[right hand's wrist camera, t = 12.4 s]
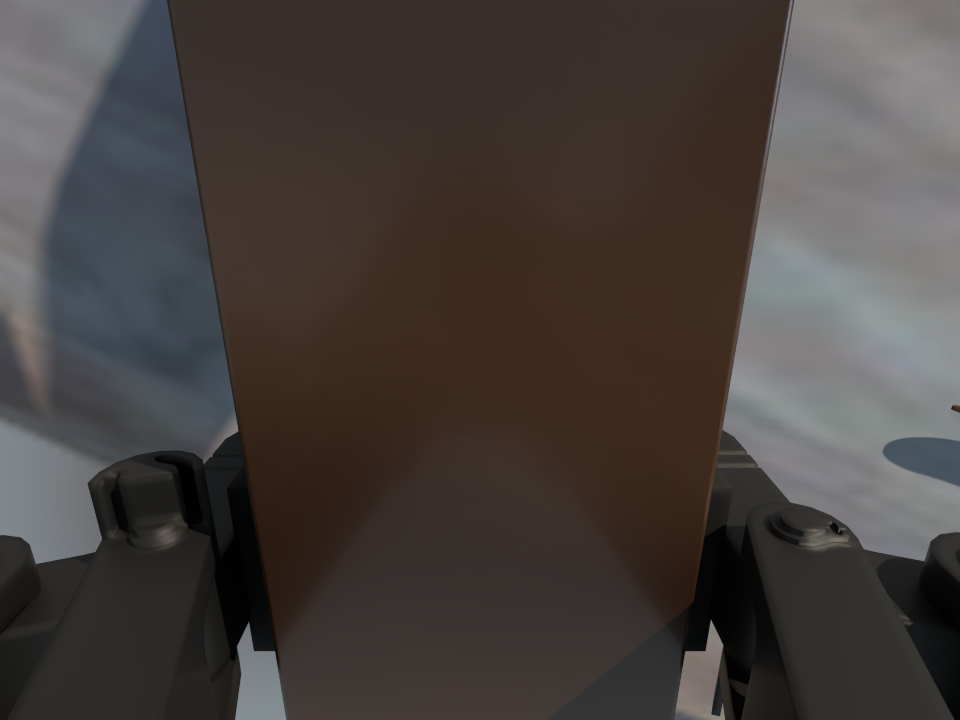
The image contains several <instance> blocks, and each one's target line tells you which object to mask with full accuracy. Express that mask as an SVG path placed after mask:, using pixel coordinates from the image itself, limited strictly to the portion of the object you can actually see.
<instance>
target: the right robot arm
mask: <svg viewBox="0 0 960 720" xmlns="http://www.w3.org/2000/svg"><path fill="white" fill-rule="evenodd" d="M88 487H89V490H90V494H91V498H92V502H93V506H94V510H95V513H96V517H97V521H98V525H99V528H100V532H101V536H102V541H101V543H100V545H99V547H98V548H97V550H96V552H94V553H90V554H86V555H81V556H76V557H71V558H66V559H61V560H55V561H50V562H45V563H40V564H35V560H34V557H33V554H32V551H31V548H30V545H29V544H28V543H27V542H26V541H24V540H23V539H22V538H20V537H13V536H5V535H1V536H0V720H235V715H236V708H237V701H238V693H239V686H240V679H241V669H240V662H239V656H238V651H237V645H238V643H239V641H240V639H241V637H242V635H243V633H244V631H245V628H246V626H247V624H248V622H249V624H250V630H251V636H252V642H253V648H254V651H275V647H274V641H273V635H272V629H271V623H270V617H269V611H268V605H267V599H266V593H265V587H264V581H263V575H262V569H261V563H260V557H259V551H258V545H257V539H256V533H255V527H254V521H253V515H252V509H251V502H250V496H249V490H248V484H247V478H246V472H245V466H244V460H243V454H242V448H241V442H240V436H239V431H238V432H237V433H235V434H233V435H232V436H230V437H228V438H226V439H225V440H224V442H223V443H222V444H221V445H220V446H219V447H218V449H217V450H216V451H215V452H214V453H213V457H210V458H209V459H208V460H207V462H206V463H205V464H203V460H202V459H201V458H199V457H198V456H196V455H195V454H193V453H188V452H183V451H157V452H152V453H147V454H141V455H137V456H134V457H131V458H128V459H125V460H122V461H120V462H117V463H115V464H113V465H111V466H109V467H108V468H106V469H104V470H102V471H100V472H99V473H98V474H97V475H96V476H95V477H94V478H93V479H91V480H90V481H89V482H88ZM711 620H712V622H713V624H714V626H715V628H716V631H717V633H718V635H719V637H720V639H721V641H722V643H723V650H722V656H721V661H720V667H719V672H718V678H717V683H716V689H715V694H714V700H713V707H712V715H717V716H720V713H721V708H722V703H723V706H724V714H725V720H960V533H959V532H955V533H947V534H940V535H939V536H937V537H936V538H935V539H933V540H932V541H931V542H930V546H929V549H928V552H927V555H926V558H925V562H924V561H919V560H914V559H909V558H904V557H898V556H893V555H888V554H883V553H878V552H873V551H869V550H865V549H863V547H862V545H861V544H860V542H859V540H858V538H857V537H856V536H855V535H854V534H853V532H852V531H851V530H850V529H849V528H848V527H847V526H846V525H845V524H843V523H841V522H840V521H838V520H837V519H835V518H834V517H832V516H831V515H828V514H826V513H824V512H821V511H819V510H816V509H814V508H811V507H807V506H803V505H799V504H794V503H790V502H789V500H788V499H787V498H786V497H785V496H784V495H783V493H782V492H781V491H780V490H779V489H778V488H777V486H776V485H775V484H774V483H773V482H772V481H771V479H770V478H769V477H768V476H767V475H766V474H765V472H764V471H763V470H762V469H761V468H758V464H757V463H756V462H755V461H754V460H753V458H752V457H751V456H750V455H747V451H746V450H745V449H744V448H743V447H742V446H741V444H740V443H739V442H738V441H737V440H736V439H735V437H733V436H732V435H730V434H728V433H727V432H725V431H723V430H722V434H721V440H720V446H719V452H718V458H717V464H716V470H715V476H714V482H713V488H712V494H711V500H710V506H709V512H708V518H707V524H706V530H705V536H704V542H703V548H702V554H701V560H700V566H699V571H698V577H697V583H696V589H695V595H694V601H693V607H692V613H691V619H690V625H689V631H688V637H687V643H686V649H685V651H706V645H707V639H708V633H709V627H710V621H711Z"/></svg>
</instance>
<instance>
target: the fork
mask: <svg viewBox="0 0 960 720" xmlns="http://www.w3.org/2000/svg"><path fill="white" fill-rule="evenodd" d="M951 409H952V410H954V411H957V412H960V406H959V405H953V406H952V408H951Z"/></svg>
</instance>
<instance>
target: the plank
mask: <svg viewBox="0 0 960 720" xmlns="http://www.w3.org/2000/svg"><path fill="white" fill-rule="evenodd" d="M167 2H168V8H169V14H170V20H171V26H172V32H173V38H174V44H175V50H176V56H177V62H178V68H179V74H180V80H181V86H182V92H183V98H184V105H185V111H186V117H187V123H188V129H189V135H190V141H191V147H192V153H193V159H194V165H195V171H196V177H197V183H198V189H199V195H200V201H201V207H202V213H203V219H204V225H205V231H206V237H207V243H208V249H209V255H210V261H211V267H212V273H213V279H214V285H215V291H216V297H217V303H218V310H219V316H220V322H221V328H222V334H223V340H224V346H225V352H226V358H227V364H228V370H229V376H230V382H231V388H232V394H233V400H234V406H235V412H236V418H237V424H238V430H239V436H240V442H241V448H242V454H243V460H244V466H245V472H246V478H247V484H248V490H249V496H250V502H251V509H252V515H253V521H254V527H255V533H256V539H257V545H258V551H259V557H260V563H261V569H262V575H263V581H264V587H265V593H266V599H267V605H268V611H269V617H270V623H271V629H272V635H273V641H274V647H275V653H276V659H277V665H278V671H279V677H280V683H281V689H282V695H283V701H284V707H285V714H286V720H674V715H675V709H676V703H677V697H678V691H679V685H680V679H681V673H682V667H683V661H684V655H685V649H686V643H687V637H688V631H689V625H690V619H691V613H692V607H693V601H694V595H695V589H696V583H697V577H698V571H699V566H700V560H701V554H702V548H703V542H704V536H705V530H706V524H707V518H708V512H709V506H710V500H711V494H712V488H713V482H714V476H715V470H716V464H717V458H718V452H719V446H720V440H721V434H722V428H723V422H724V416H725V410H726V404H727V398H728V392H729V386H730V380H731V374H732V369H733V363H734V357H735V351H736V345H737V339H738V333H739V327H740V321H741V315H742V309H743V303H744V297H745V291H746V285H747V279H748V273H749V267H750V261H751V255H752V249H753V243H754V237H755V231H756V225H757V219H758V213H759V207H760V201H761V195H762V189H763V183H764V177H765V171H766V166H767V160H768V154H769V148H770V142H771V136H772V130H773V124H774V118H775V112H776V106H777V100H778V94H779V88H780V82H781V76H782V70H783V64H784V58H785V52H786V46H787V40H788V34H789V28H790V22H791V16H792V10H793V4H794V0H167Z"/></svg>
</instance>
